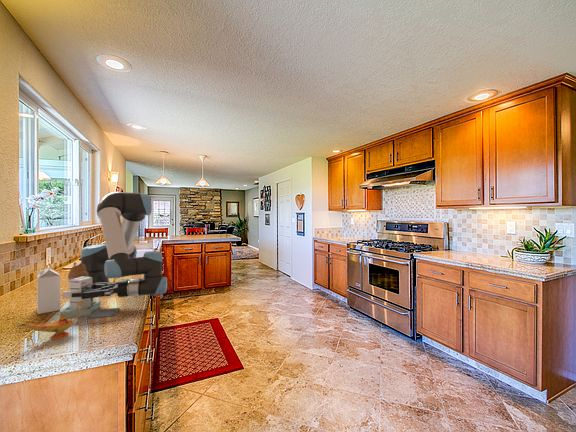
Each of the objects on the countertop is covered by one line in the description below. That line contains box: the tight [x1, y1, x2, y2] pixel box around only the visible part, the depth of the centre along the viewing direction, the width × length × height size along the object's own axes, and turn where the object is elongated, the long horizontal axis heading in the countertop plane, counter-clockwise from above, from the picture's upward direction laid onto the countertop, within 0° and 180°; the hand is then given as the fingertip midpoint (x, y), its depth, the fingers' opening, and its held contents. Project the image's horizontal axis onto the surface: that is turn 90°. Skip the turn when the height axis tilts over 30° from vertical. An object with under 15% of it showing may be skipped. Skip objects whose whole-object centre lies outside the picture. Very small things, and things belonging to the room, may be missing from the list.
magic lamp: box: [16, 299, 86, 340], centre depth 92 cm, size 7×18×11 cm, turn 141°
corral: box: [59, 300, 101, 318], centre depth 116 cm, size 11×11×2 cm
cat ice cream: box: [67, 261, 88, 282], centre depth 132 cm, size 9×8×18 cm
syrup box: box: [68, 277, 94, 310], centre depth 116 cm, size 6×6×14 cm
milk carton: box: [36, 264, 61, 315], centre depth 117 cm, size 7×7×19 cm
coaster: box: [86, 307, 121, 320], centre depth 114 cm, size 9×9×1 cm
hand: (68, 291), depth 114 cm, fingers open, 10 cm apart
